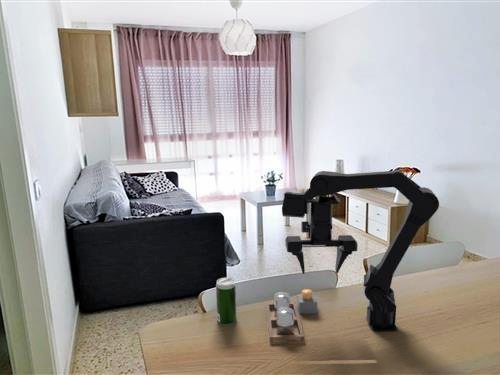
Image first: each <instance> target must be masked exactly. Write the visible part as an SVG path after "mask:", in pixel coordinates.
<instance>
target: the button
mask: <svg viewBox="0 0 500 375" xmlns="http://www.w3.org/2000/svg"><path fill="white" fill-rule="evenodd" d="M301 294H302V299H303V300H307V301H309V300H312V294H313V290H312V289H308V288H306V289H303V290H301Z"/></svg>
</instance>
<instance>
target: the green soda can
mask: <svg viewBox="0 0 500 375" xmlns="http://www.w3.org/2000/svg"><path fill="white" fill-rule="evenodd" d="M236 284H237V283H236V282H235V279H233V277H221V278H218V279H217V280H216V284H215V289H216V292H215V293H216V297H215V298H216V320H217V323H218V324H220V325H223V326H229V325H232V324H234V323H236V322H237V320H238V319H237V318H238V317H237V293H236V292H237V287H236V286H237V285H236Z"/></svg>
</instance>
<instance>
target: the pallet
mask: <svg viewBox="0 0 500 375" xmlns="http://www.w3.org/2000/svg"><path fill="white" fill-rule="evenodd" d="M290 308H291V309H293V310H294V333H293V335H278V334H277V317H275V316H274V302H266V303H265V315H266V316H265V317H266V327H267V328H266V329H267V339H268V344H269V345H273V344H275V345H276V344H279V345H280V344H306V341H305V335H304V329H303V327H302V323H301V319H300V314H299V310H298V306H297V302H295V301H292V302H290Z"/></svg>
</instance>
